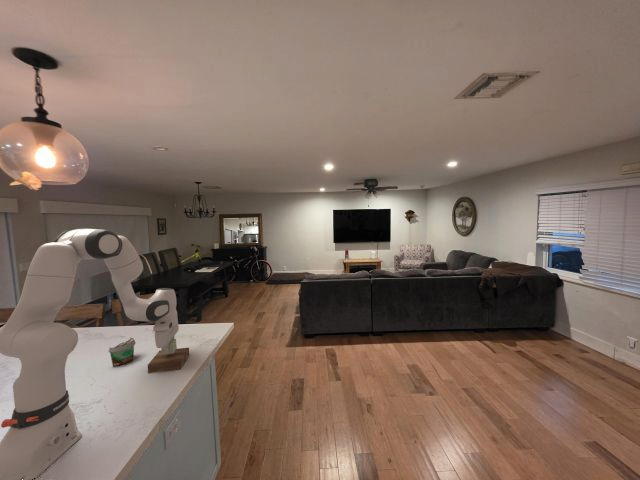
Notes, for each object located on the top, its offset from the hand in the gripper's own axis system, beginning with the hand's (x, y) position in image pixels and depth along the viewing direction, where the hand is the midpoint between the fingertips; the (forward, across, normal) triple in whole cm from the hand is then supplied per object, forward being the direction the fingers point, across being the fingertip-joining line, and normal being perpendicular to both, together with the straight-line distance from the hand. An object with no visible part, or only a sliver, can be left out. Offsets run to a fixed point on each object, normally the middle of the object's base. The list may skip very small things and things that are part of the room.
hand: (169, 348), depth 130 cm
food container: (+8, -7, -22) cm, 24 cm away
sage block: (+2, 0, 0) cm, 2 cm away
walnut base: (+8, 0, 0) cm, 8 cm away
